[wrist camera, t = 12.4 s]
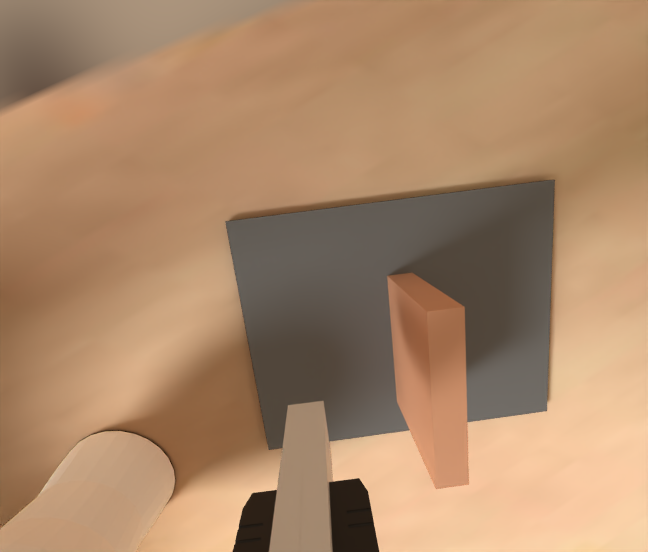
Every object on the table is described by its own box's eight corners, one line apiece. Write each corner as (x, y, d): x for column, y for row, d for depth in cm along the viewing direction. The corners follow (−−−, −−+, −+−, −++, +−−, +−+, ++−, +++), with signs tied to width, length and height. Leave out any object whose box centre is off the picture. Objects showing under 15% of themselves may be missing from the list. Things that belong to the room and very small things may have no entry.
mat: (269, 443, 23) (268, 449, 23) (227, 221, 20) (225, 221, 19) (540, 405, 23) (546, 410, 23) (547, 180, 20) (554, 179, 19)
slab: (396, 401, 22) (435, 488, 15) (387, 275, 20) (426, 311, 13) (419, 398, 22) (468, 484, 15) (412, 272, 20) (464, 307, 13)
